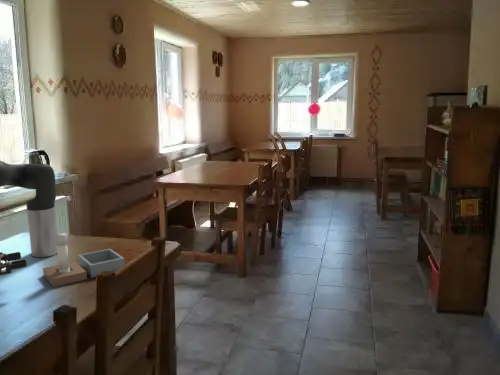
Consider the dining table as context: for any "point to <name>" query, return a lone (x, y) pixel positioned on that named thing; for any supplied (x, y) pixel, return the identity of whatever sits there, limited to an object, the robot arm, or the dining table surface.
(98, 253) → the parts tray
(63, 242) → the fuse
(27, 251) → the dining table surface
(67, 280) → the block
